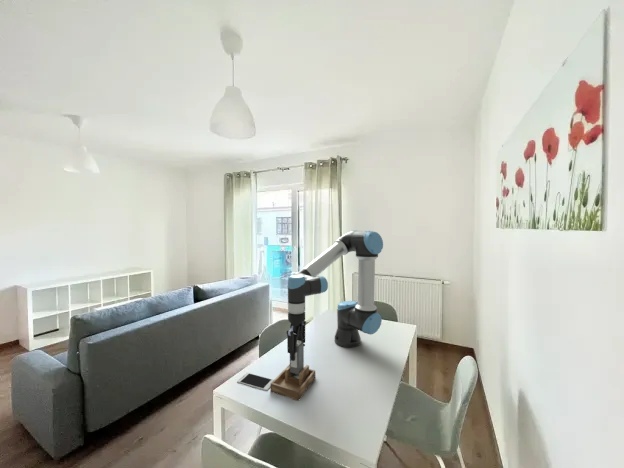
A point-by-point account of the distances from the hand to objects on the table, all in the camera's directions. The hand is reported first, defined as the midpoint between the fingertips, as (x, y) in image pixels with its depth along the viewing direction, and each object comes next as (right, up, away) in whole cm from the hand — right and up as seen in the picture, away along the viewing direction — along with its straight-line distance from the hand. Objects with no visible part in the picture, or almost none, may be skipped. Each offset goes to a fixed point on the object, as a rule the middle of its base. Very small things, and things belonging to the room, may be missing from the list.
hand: (296, 363), depth 112 cm
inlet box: (-1, -8, -2) cm, 8 cm away
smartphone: (-18, -8, 0) cm, 20 cm away
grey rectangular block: (0, -3, 0) cm, 3 cm away
